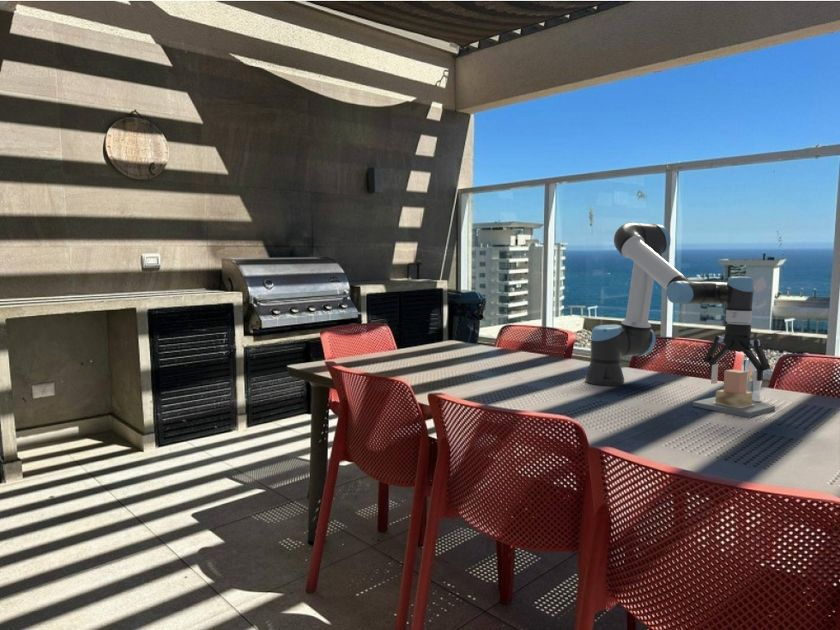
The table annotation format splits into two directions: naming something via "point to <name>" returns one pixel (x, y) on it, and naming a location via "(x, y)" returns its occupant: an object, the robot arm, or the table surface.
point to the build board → (740, 411)
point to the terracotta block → (735, 381)
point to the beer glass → (751, 378)
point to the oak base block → (733, 398)
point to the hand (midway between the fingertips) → (734, 386)
